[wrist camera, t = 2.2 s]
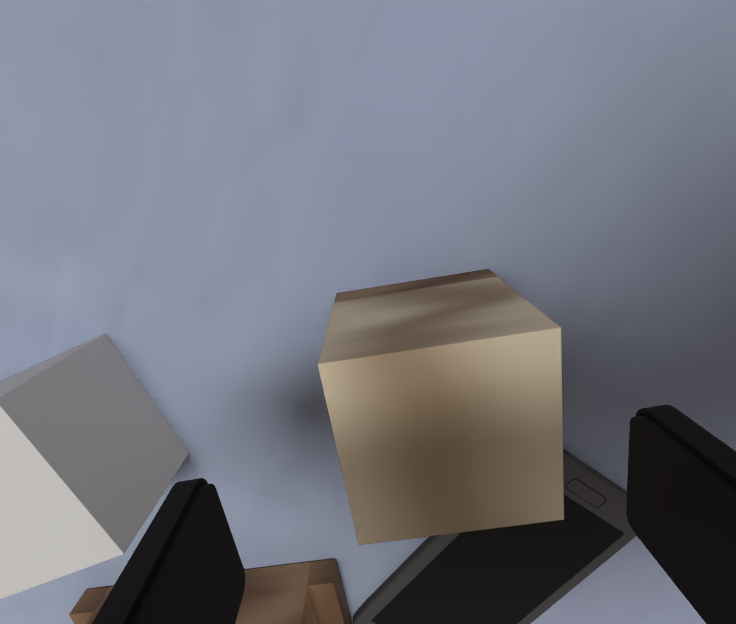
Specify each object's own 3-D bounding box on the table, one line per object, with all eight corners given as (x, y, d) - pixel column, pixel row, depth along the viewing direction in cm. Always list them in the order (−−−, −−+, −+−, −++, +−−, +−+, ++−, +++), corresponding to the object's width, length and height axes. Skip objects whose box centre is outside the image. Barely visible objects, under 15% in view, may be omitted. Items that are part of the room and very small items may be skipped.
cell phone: (649, 504, 19) (660, 517, 18) (456, 667, 22) (459, 684, 22) (531, 425, 17) (538, 436, 17) (346, 613, 21) (345, 628, 20)
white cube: (107, 332, 16) (-5, 400, 11) (190, 451, 18) (124, 554, 13) (-16, 387, 17) (-170, 473, 12) (75, 496, 18) (-27, 608, 14)
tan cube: (487, 268, 15) (561, 327, 9) (497, 401, 17) (563, 519, 11) (336, 292, 15) (317, 364, 10) (362, 420, 17) (358, 545, 11)
